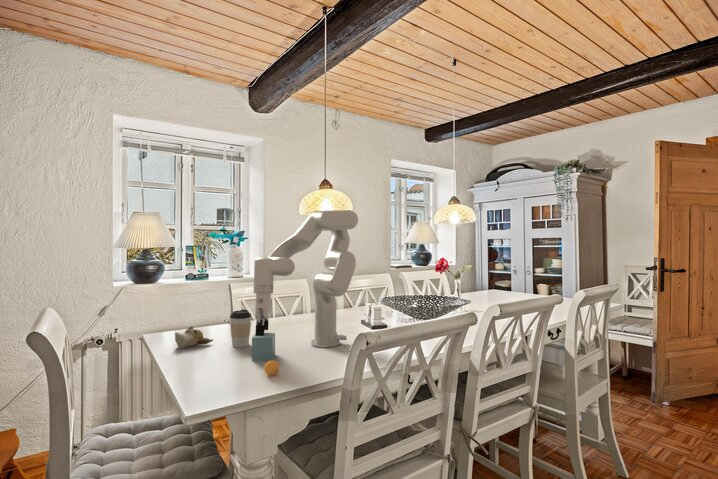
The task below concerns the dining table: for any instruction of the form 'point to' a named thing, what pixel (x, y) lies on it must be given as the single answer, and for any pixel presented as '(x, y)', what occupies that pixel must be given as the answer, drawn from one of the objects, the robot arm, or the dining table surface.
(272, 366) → the ball
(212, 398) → the dining table surface
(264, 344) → the pale teal cube
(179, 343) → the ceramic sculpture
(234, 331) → the coffee cup
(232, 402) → the dining table surface
